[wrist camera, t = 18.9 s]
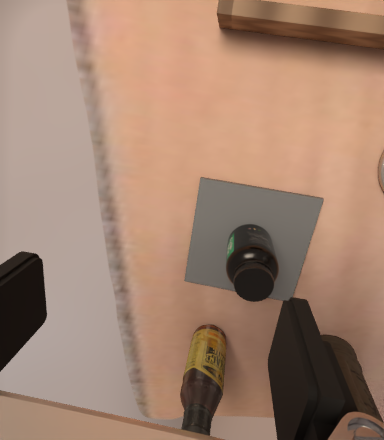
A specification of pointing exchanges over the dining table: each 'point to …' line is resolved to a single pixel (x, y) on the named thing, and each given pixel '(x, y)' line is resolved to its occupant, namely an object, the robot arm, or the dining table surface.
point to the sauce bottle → (203, 379)
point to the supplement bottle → (251, 262)
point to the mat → (250, 214)
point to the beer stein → (353, 376)
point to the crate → (302, 22)
